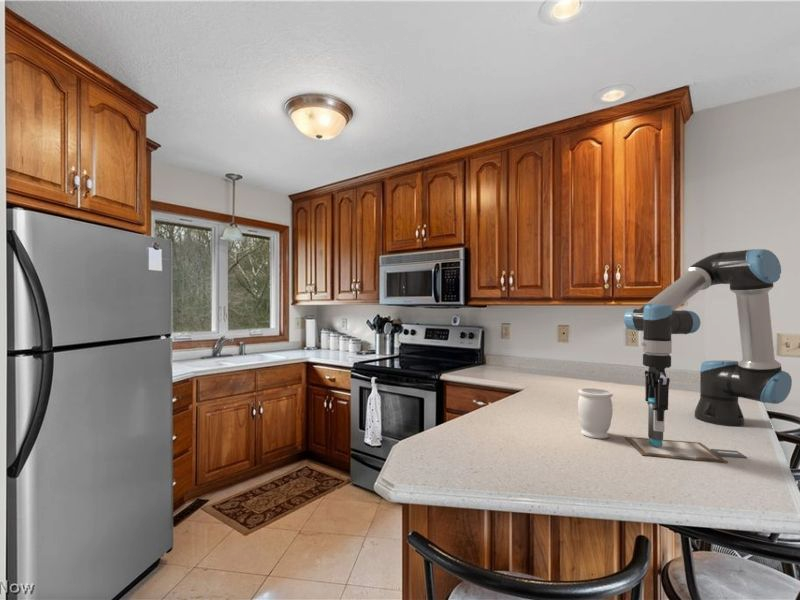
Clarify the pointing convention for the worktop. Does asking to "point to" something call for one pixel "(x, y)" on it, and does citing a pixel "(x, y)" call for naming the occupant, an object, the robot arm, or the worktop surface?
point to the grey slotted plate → (728, 453)
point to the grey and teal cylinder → (654, 436)
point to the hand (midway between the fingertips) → (655, 428)
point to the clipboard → (675, 450)
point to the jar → (595, 412)
